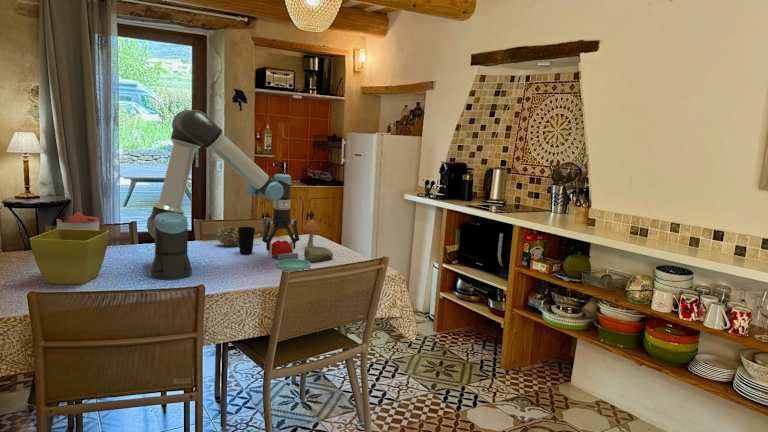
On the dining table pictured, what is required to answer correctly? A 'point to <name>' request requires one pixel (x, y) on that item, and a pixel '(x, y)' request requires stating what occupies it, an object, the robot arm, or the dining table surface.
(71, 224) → the citrus juicer
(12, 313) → the dining table surface
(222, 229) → the pine cone
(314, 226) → the mushroom
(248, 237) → the cup
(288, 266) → the dish
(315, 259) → the stone
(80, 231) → the flower pot
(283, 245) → the tomato
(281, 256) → the rail
